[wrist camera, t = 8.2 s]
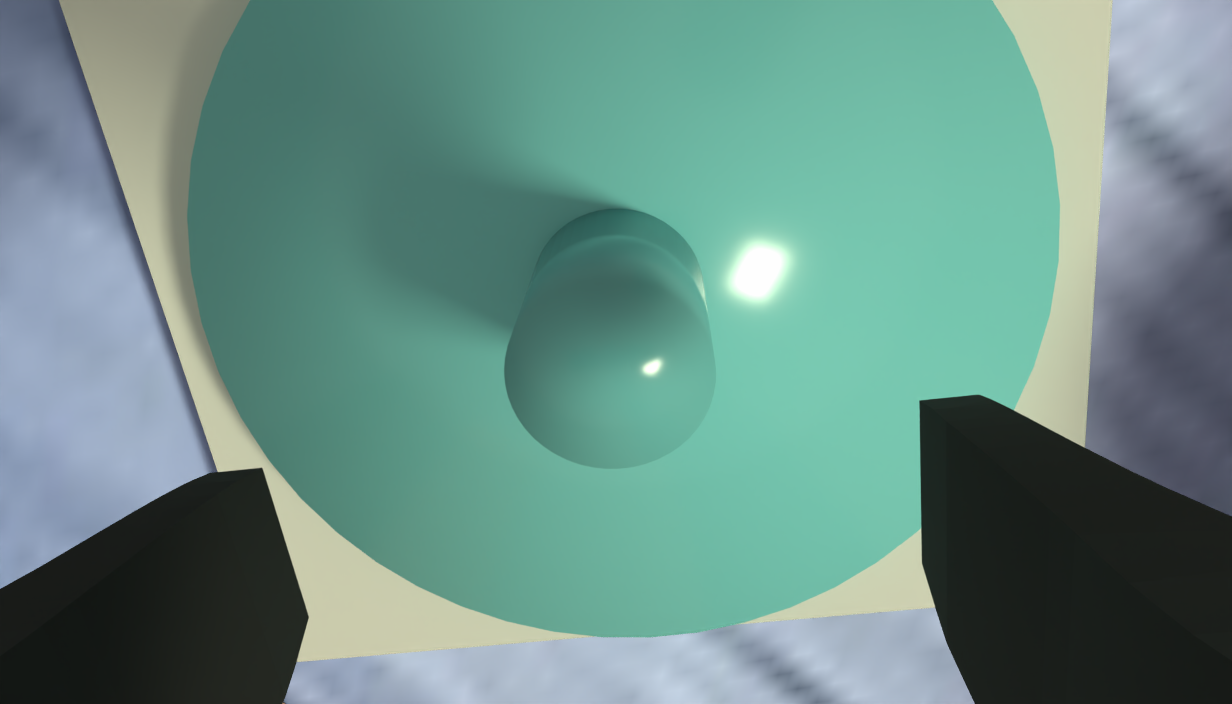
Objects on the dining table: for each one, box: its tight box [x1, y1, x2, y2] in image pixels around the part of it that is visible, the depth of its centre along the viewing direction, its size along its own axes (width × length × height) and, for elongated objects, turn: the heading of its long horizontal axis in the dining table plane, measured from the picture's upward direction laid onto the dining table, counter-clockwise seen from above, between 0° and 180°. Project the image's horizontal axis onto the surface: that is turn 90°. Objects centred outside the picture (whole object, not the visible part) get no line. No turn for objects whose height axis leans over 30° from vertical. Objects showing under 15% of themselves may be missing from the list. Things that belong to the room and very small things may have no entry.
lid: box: [187, 0, 1060, 637], centre depth 16 cm, size 15×15×4 cm
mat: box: [59, 0, 1112, 662], centre depth 18 cm, size 17×16×1 cm
